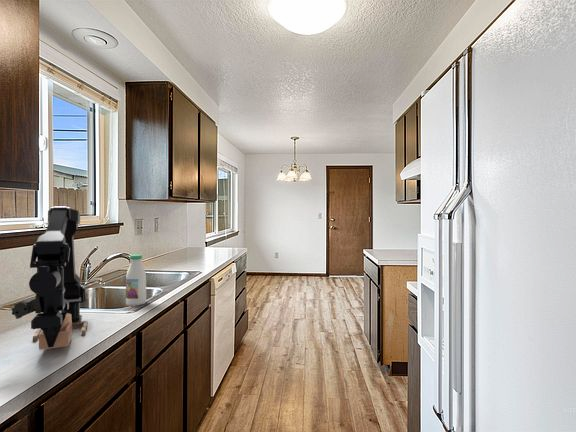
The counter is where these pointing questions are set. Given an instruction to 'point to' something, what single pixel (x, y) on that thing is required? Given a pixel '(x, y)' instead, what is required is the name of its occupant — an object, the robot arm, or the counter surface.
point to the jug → (59, 335)
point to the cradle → (74, 325)
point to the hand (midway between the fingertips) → (52, 344)
